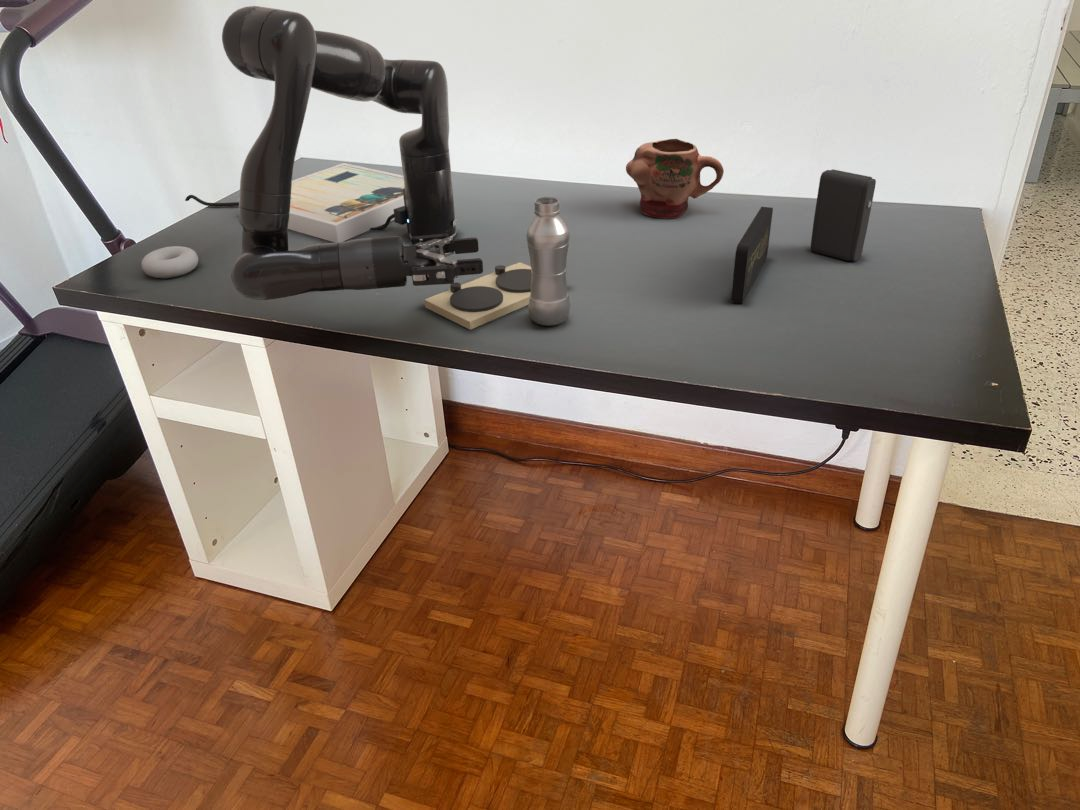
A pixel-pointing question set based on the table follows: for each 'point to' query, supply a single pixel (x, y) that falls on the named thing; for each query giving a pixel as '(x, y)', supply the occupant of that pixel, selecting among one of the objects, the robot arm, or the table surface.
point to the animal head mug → (670, 176)
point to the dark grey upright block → (842, 214)
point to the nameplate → (751, 254)
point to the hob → (484, 296)
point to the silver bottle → (548, 263)
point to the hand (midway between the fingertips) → (480, 254)
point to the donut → (169, 262)
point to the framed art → (343, 201)
